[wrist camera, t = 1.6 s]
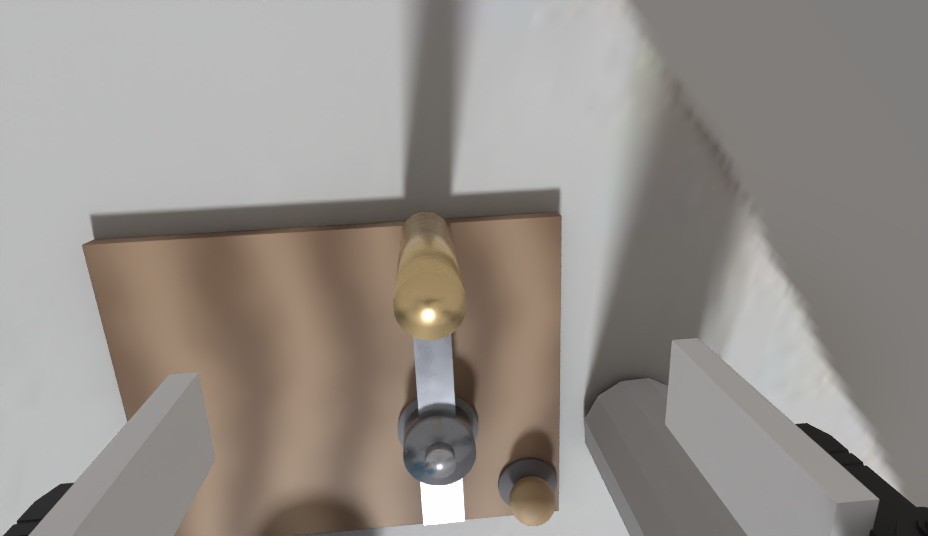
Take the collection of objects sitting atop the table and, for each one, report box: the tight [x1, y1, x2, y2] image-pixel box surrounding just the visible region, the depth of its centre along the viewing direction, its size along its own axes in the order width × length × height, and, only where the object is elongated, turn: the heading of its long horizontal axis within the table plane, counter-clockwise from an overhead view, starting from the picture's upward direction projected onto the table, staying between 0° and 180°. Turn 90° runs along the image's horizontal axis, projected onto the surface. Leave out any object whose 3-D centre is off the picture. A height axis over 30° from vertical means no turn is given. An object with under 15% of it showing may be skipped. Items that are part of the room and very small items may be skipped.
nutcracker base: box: [82, 212, 561, 536], centre depth 34 cm, size 27×21×4 cm
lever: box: [393, 212, 476, 525], centre depth 29 cm, size 20×4×11 cm, turn 2°
